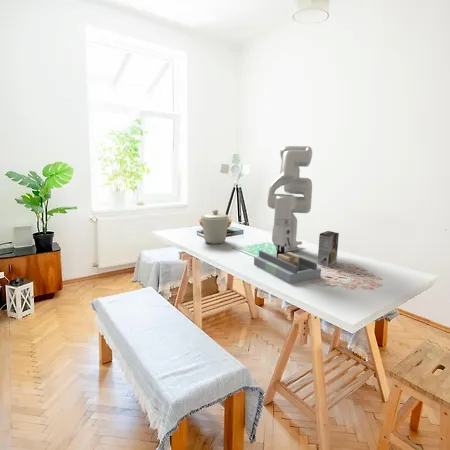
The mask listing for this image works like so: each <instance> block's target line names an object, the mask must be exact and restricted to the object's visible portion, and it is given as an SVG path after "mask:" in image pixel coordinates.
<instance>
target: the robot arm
mask: <svg viewBox="0 0 450 450" xmlns="http://www.w3.org/2000/svg"><path fill="white" fill-rule="evenodd" d="M279 151H280V152H279V154H280V155H279V156H280V160H281V165H280V171H279V176H278V177H277V178H275V179H274V181H272V183H271V184H270V187H269V189H268V195H267V206H268V208H270V209H272V210H273V209H274V219H273V227H272V235H271V240H272V241H271V242H272V243H273V246H275V251H276V254H277V258H278V254H283V253H284V251H288V252H295V251H298V250H299V246H298V245H300V246H301V245H303V242H302V241H301V240H299V241H298V240H297V235H298V233H297V232H298V231H297V230H298V218H297V217H296V215H295V214H309V213H310V212H311V209H312V194H313V182H312V179H310V178H309V177H300V172H301V169H300V167H302V168H303V167H306V168H307V167H309V166H310V165H311V161H312V158H313V149H312V147H311V146H306V145H304V146H303V145H288V146H287V145H286V146H282V147H281V148H280V150H279ZM282 186H283V191H284V192H285V194H284V193H276V191H277V189H279V188H280V187H282ZM295 195H303V196H295ZM294 213H295V214H294Z"/></svg>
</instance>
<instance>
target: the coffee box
mask: <svg viewBox="0 0 450 450" xmlns="http://www.w3.org/2000/svg"><path fill="white" fill-rule="evenodd" d="M318 238H319V240H318V252H317V262H316V263H317V265H318V264H319V265H322V266H326V267H330V266H332V265H335V264H336V263H337V259H338V248H339V232H334V231H330V230H327V231H324V232H321V233H319V237H318Z"/></svg>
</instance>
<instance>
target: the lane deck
mask: <svg viewBox="0 0 450 450" xmlns="http://www.w3.org/2000/svg"><path fill="white" fill-rule="evenodd" d="M284 253H292V252H291V251H284ZM292 254H294V253H292ZM296 255H297V254H296ZM297 256H299V264H298V265H292V264H290V263H288V262H286V261H284V260H281V259H279V258H277V253H272V254H271V253H267V252H266V251H263V250H259V251H258V256H254V257H253V265H254V266H256V267H258V268H259V269H262V270H263V271H264V272H267V273H268V274H271V275H272V276H274V277H277V278H278V279H280V280H282V281H284V282H286V283H288V284H293V283H294V284H295V283H298V282H303V281H308V280H312V279H318V278H321V276H322V275H321V273H322V268H320V267H318V263H317V262H315V261H313V260H310V259H307V258H304V257H303V256H300V255H297Z"/></svg>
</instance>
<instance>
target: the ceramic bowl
mask: <svg viewBox="0 0 450 450" xmlns="http://www.w3.org/2000/svg"><path fill="white" fill-rule="evenodd" d="M198 222H199V226H201V227H202V228H203V224H202V218H200V219H199V220H198ZM231 225H232V219H230V218H229V219H228V227H227V229H228V228H229V227H230V226H231Z"/></svg>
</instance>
